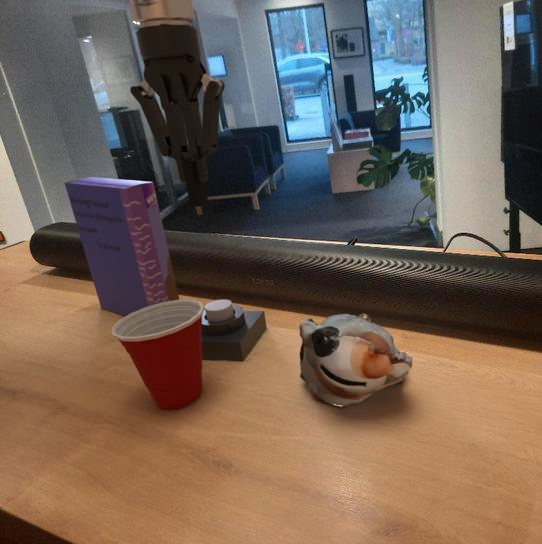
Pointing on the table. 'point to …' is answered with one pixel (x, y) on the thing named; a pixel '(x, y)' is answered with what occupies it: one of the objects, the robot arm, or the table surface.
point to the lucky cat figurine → (349, 358)
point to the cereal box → (123, 242)
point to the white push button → (219, 310)
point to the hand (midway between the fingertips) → (199, 204)
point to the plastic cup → (166, 350)
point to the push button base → (232, 335)
